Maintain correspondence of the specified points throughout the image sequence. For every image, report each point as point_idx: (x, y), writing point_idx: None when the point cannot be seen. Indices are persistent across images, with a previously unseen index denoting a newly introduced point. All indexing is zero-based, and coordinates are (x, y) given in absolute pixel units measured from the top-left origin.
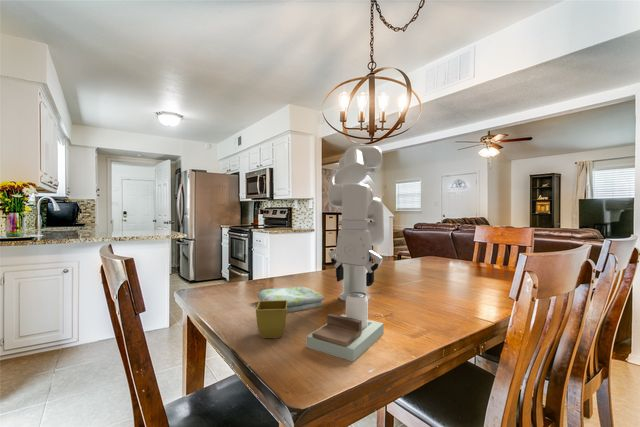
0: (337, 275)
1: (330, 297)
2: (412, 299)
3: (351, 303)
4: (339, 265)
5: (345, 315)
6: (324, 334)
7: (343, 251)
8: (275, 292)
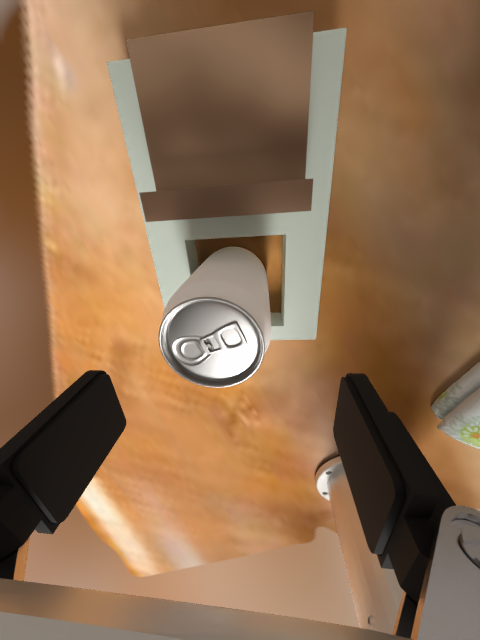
0: (377, 409)
1: None
2: (231, 507)
3: (213, 277)
4: (426, 569)
5: (301, 335)
6: (253, 50)
7: None
8: None
